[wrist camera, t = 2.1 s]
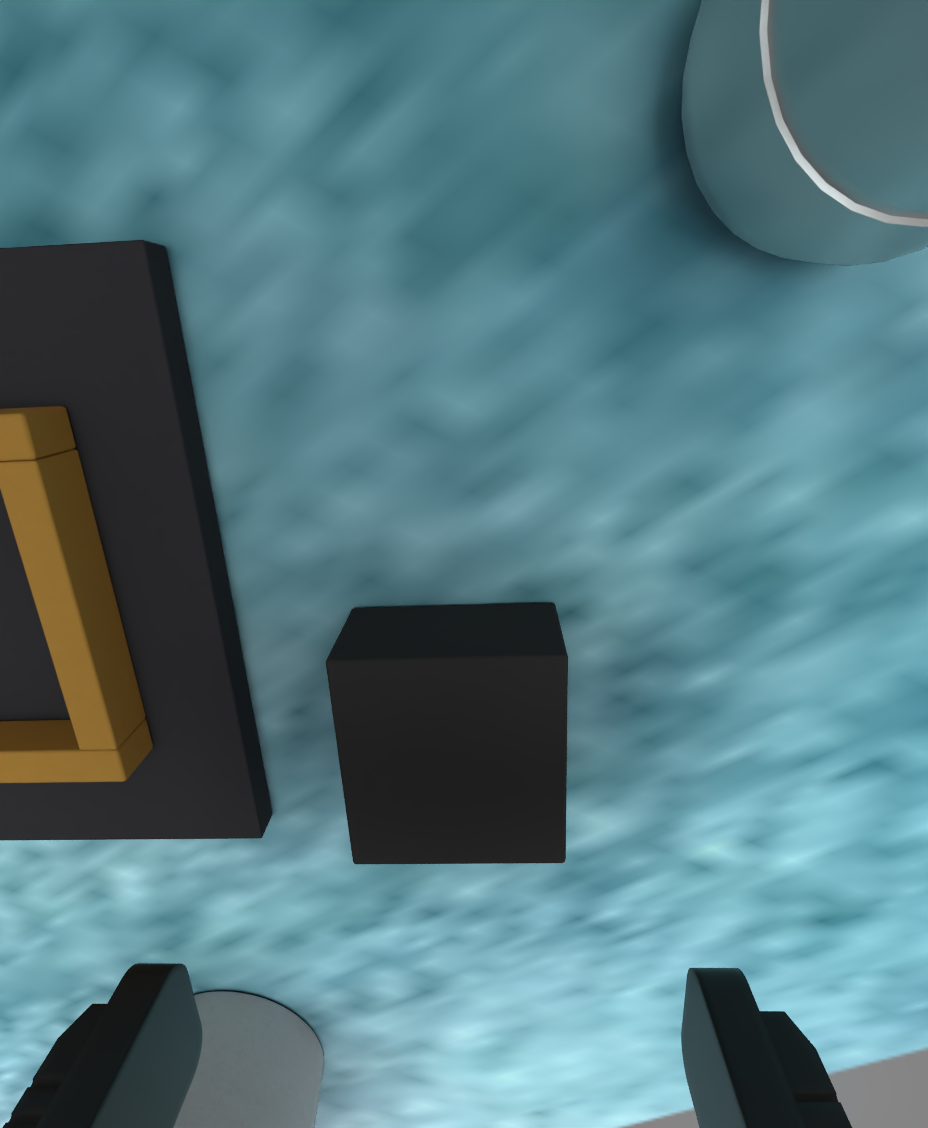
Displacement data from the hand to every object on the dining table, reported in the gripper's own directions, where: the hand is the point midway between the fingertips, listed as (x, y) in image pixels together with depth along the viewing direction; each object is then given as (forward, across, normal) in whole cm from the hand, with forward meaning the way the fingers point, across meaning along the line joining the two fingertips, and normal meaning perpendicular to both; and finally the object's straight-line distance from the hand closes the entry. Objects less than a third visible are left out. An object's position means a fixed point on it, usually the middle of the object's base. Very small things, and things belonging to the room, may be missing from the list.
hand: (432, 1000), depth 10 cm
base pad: (+8, +13, -4) cm, 16 cm away
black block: (+8, 0, 0) cm, 9 cm away
